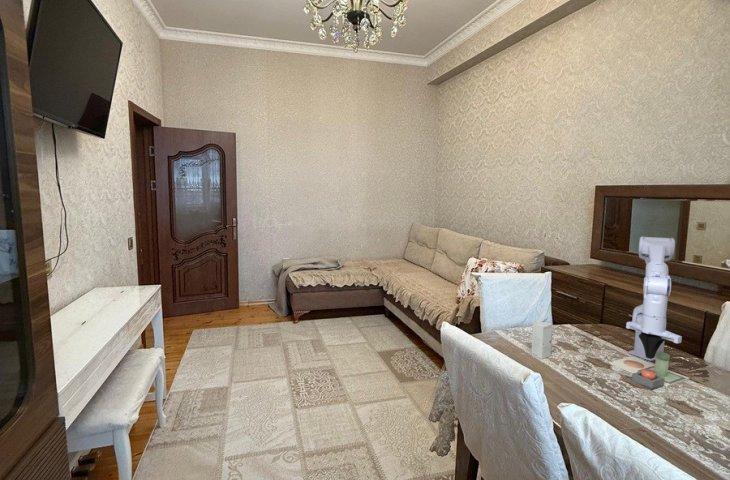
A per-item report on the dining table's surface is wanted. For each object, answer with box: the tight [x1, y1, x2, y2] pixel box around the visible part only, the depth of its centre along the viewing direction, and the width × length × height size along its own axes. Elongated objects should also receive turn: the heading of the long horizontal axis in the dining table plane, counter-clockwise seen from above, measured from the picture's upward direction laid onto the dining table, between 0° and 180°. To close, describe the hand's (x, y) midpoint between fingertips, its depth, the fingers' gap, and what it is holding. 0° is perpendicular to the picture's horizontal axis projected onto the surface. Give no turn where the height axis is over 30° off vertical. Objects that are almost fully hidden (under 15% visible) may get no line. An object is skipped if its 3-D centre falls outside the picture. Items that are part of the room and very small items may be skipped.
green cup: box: [654, 351, 671, 377], centre depth 125 cm, size 4×4×7 cm
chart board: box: [609, 356, 690, 388], centre depth 129 cm, size 12×18×1 cm, turn 25°
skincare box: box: [531, 320, 553, 360], centre depth 140 cm, size 6×4×12 cm
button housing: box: [631, 371, 665, 391], centre depth 120 cm, size 6×6×2 cm
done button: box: [641, 369, 656, 380], centre depth 120 cm, size 4×4×2 cm
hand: (650, 357), depth 119 cm, fingers closed
